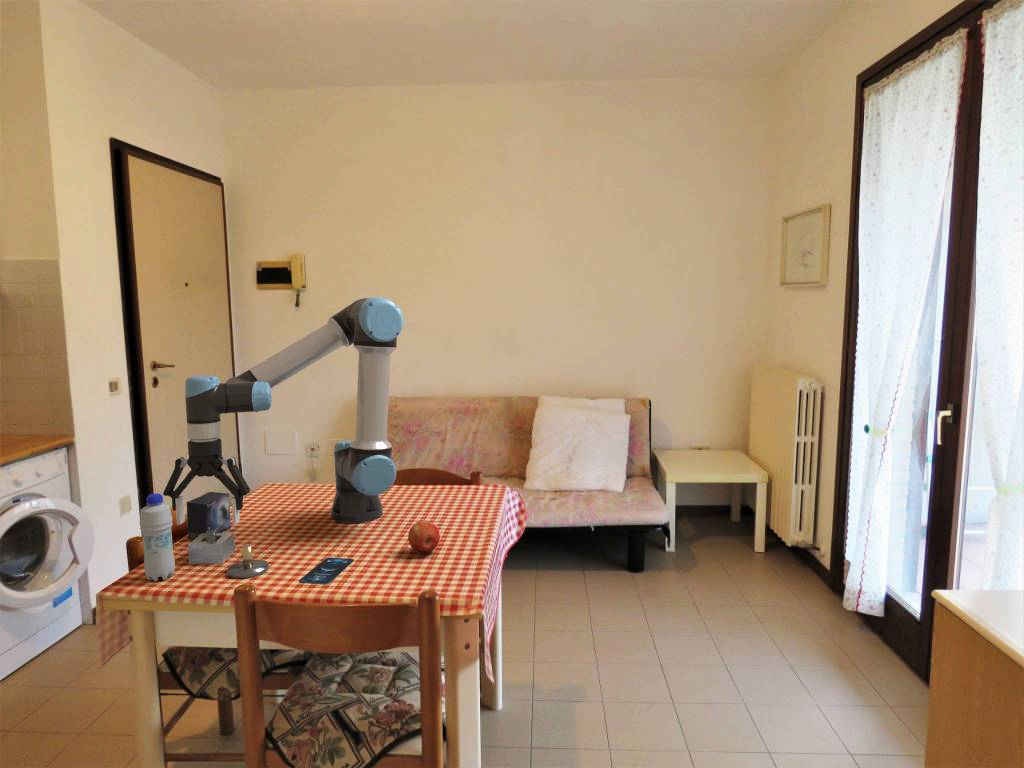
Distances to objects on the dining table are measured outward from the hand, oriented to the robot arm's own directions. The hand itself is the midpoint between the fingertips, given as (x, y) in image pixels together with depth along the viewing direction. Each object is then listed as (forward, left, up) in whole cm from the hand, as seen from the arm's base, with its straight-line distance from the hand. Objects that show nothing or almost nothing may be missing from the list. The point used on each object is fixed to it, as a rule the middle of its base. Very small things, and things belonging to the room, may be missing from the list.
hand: (208, 522), depth 163 cm
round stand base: (-12, +9, -9) cm, 18 cm away
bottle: (+7, +11, -9) cm, 16 cm away
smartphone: (-31, +10, -10) cm, 34 cm away
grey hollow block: (0, 0, -9) cm, 9 cm away
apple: (-53, 0, -9) cm, 54 cm away
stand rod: (0, 0, -9) cm, 9 cm away
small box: (+8, -18, -9) cm, 22 cm away
